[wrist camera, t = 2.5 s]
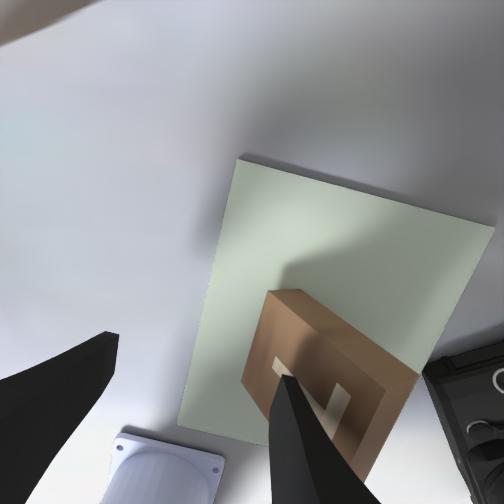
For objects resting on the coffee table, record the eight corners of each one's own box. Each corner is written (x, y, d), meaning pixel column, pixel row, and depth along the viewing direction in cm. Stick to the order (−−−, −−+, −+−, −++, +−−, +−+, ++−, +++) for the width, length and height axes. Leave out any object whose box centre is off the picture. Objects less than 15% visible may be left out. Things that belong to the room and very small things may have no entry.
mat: (368, 465, 20) (370, 471, 20) (177, 420, 20) (176, 425, 19) (490, 226, 15) (496, 228, 15) (237, 159, 15) (236, 158, 14)
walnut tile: (272, 372, 18) (363, 483, 12) (240, 381, 16) (328, 510, 11) (300, 288, 16) (419, 374, 11) (267, 290, 15) (385, 390, 9)
